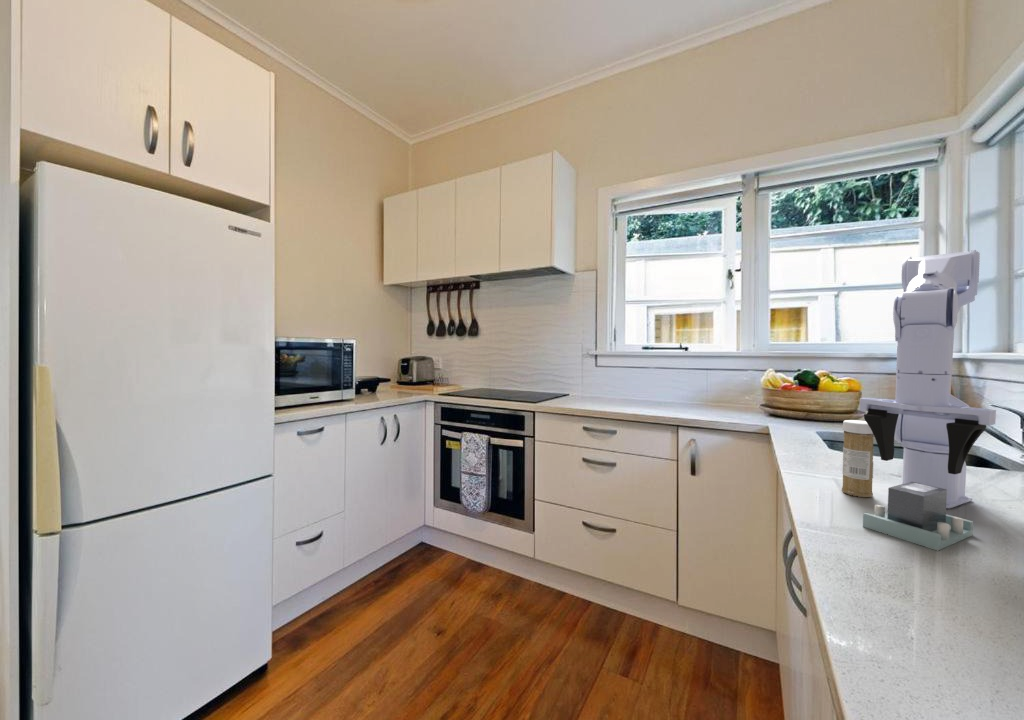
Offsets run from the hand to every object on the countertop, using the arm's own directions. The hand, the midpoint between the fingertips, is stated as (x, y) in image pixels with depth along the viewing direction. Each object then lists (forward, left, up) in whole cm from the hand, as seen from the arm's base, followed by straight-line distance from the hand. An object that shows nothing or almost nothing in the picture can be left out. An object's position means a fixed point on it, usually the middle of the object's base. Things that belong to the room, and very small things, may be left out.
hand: (919, 466), depth 63 cm
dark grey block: (0, 0, -9) cm, 9 cm away
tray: (0, 0, -10) cm, 10 cm away
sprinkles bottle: (-10, -12, -10) cm, 19 cm away
